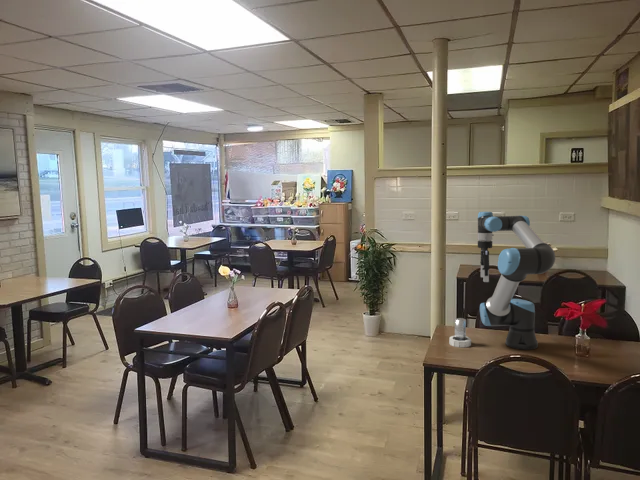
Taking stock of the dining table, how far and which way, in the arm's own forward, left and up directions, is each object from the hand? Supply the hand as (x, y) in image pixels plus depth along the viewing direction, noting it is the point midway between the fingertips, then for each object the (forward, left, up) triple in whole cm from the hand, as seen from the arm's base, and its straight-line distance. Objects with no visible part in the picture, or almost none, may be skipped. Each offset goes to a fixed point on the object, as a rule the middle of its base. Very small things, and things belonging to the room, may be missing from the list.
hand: (484, 279), depth 261 cm
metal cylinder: (-6, +22, -30) cm, 37 cm away
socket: (-6, +22, -31) cm, 38 cm away
